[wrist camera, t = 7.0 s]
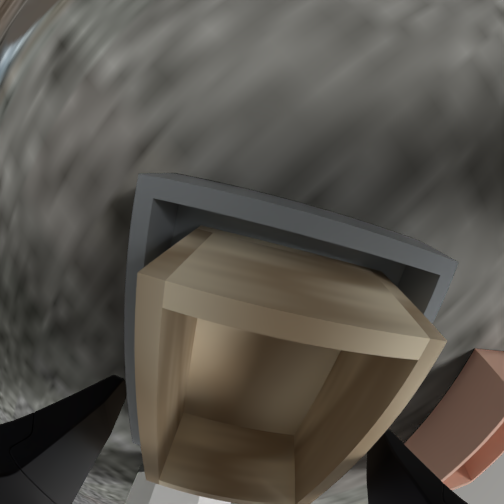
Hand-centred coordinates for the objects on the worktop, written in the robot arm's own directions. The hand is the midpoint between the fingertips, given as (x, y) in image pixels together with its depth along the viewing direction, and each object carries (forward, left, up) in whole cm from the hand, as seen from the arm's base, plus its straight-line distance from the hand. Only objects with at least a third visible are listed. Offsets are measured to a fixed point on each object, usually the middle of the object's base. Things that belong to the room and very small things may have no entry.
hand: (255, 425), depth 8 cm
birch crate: (0, 0, -4) cm, 4 cm away
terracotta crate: (-16, +3, -4) cm, 17 cm away
